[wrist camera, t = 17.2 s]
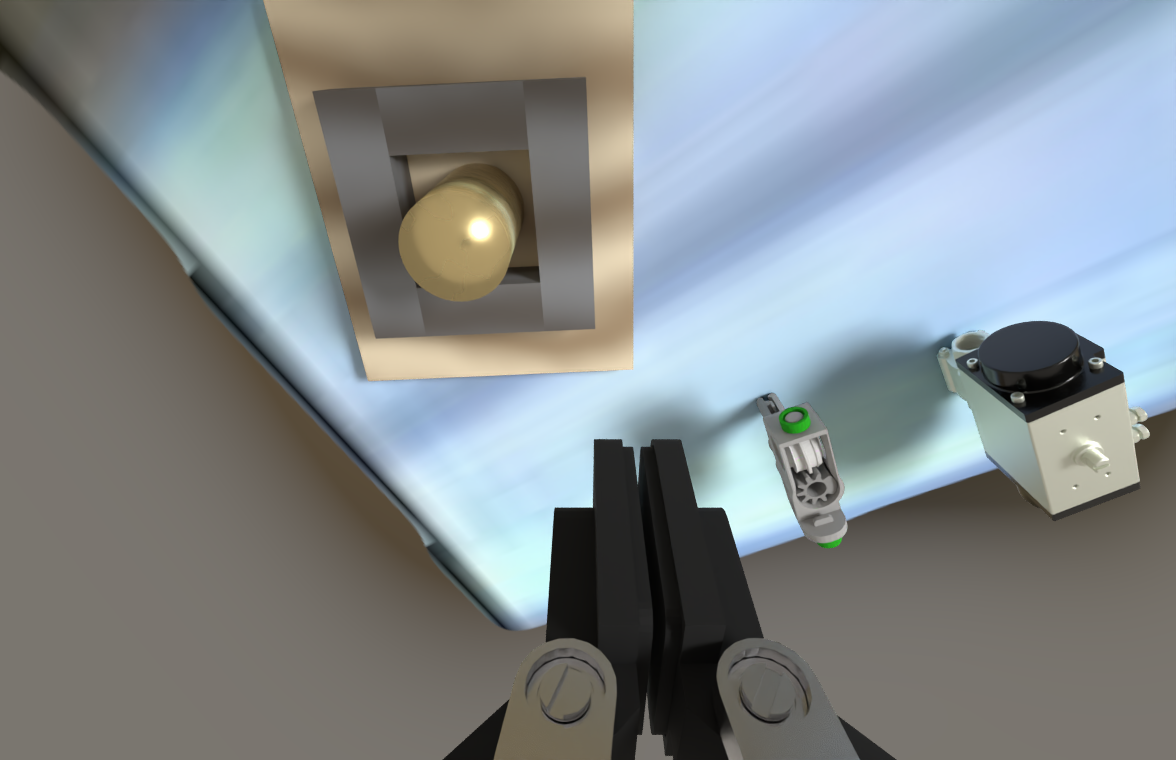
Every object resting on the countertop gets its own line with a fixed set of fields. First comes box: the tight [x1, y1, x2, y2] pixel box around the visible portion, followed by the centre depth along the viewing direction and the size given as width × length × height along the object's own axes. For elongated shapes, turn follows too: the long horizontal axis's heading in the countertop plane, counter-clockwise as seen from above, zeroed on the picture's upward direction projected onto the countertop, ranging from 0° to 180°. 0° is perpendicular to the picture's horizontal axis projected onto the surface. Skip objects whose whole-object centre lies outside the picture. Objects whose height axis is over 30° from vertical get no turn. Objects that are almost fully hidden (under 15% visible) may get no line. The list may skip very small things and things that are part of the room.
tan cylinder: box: [398, 163, 524, 302], centre depth 29 cm, size 5×5×8 cm
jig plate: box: [263, 0, 633, 381], centre depth 31 cm, size 22×18×4 cm
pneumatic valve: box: [937, 321, 1150, 521], centre depth 34 cm, size 6×12×12 cm, turn 32°
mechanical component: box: [757, 393, 847, 548], centre depth 36 cm, size 3×10×10 cm, turn 23°
